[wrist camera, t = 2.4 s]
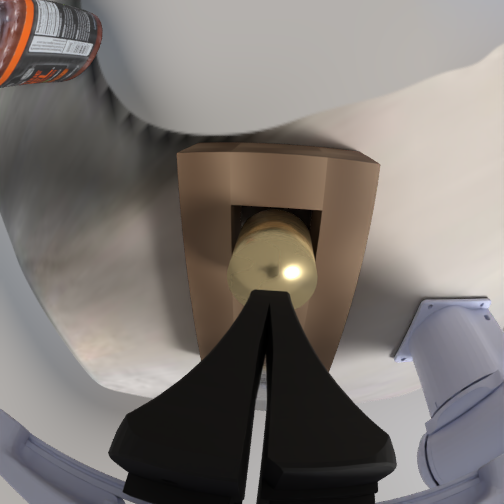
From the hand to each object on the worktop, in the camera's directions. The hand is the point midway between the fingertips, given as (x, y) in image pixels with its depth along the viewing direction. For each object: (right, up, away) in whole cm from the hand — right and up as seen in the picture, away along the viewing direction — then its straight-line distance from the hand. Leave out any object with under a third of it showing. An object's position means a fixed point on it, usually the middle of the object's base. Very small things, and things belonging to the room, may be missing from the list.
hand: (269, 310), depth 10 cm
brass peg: (+1, +3, +5) cm, 6 cm away
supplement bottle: (-14, +18, +2) cm, 23 cm away
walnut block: (+1, 0, +10) cm, 10 cm away
